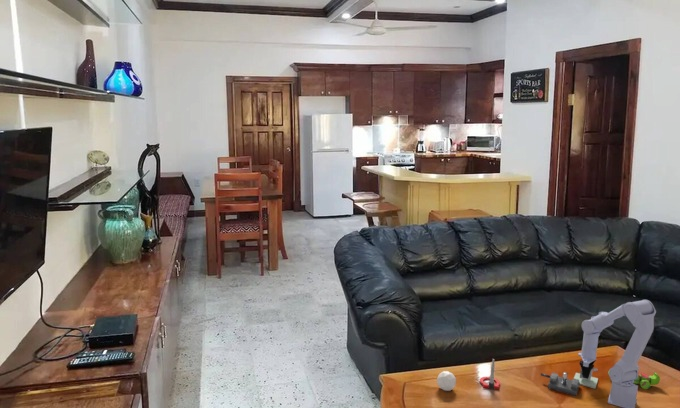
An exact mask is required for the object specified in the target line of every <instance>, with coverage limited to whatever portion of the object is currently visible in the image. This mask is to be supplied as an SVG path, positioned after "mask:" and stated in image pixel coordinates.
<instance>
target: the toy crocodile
mask: <svg viewBox="0 0 680 408" xmlns="http://www.w3.org/2000/svg"><path fill="white" fill-rule="evenodd" d="M607 374H608V375H609V371H608V372H607ZM660 377H661V376H660V375H658V373H656V372H653V375H648V374H645V373H643V372H641V373H640V372H639V371H638V378H637V379H635V380H634V383H633V384H635V385H638V384H639V386H640V387H641V388H642V389H643V390H648V389H650V388H651V386H656V385H658V384H659V383H660V380H661V378H660Z"/></svg>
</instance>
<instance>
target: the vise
mask: <svg viewBox="0 0 680 408" xmlns="http://www.w3.org/2000/svg"><path fill="white" fill-rule="evenodd" d="M540 376H542V377H545V378H547V379H549V381H548V384H547V389H549V390H553V391H557V392H560V393H563V394H567V395H569V396H570V395H571V396H574V397H577V395H578V391H579V390H580V389H579V388H580V386H581V385H580V382H579V380H578V379H574V377H573V378H572V379H570V378H568V372H566V371H564V372H562V376H559V374H558V373H556V372H551V375H550V374H546V373H543V372H542V373H540Z"/></svg>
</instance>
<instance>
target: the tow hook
mask: <svg viewBox="0 0 680 408" xmlns="http://www.w3.org/2000/svg"><path fill="white" fill-rule="evenodd" d="M495 366H496V364H495V359H494V358H492V361H491V368H490V376H483V377H480V379H479V383H480V384H481V385H482V388H484V389H489V390H500V389H501V388H500V387H501V382H500V380H498V379H497V378H495V377H494V374H495ZM485 381H488V383H486V382H485Z"/></svg>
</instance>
